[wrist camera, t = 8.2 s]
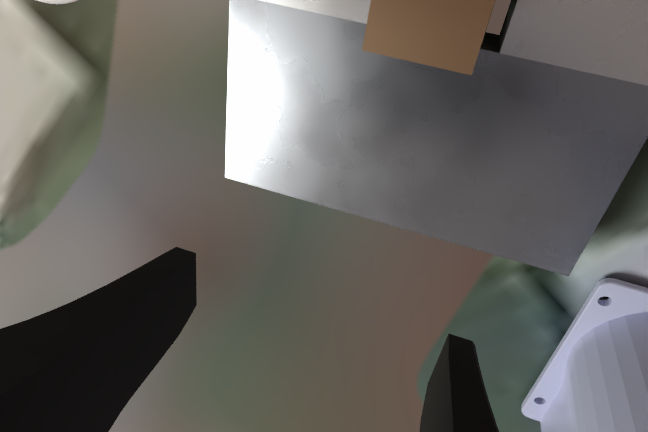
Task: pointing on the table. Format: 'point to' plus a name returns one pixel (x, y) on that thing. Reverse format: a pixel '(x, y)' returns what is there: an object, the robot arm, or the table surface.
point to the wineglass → (57, 1)
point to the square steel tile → (445, 121)
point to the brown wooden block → (429, 31)
